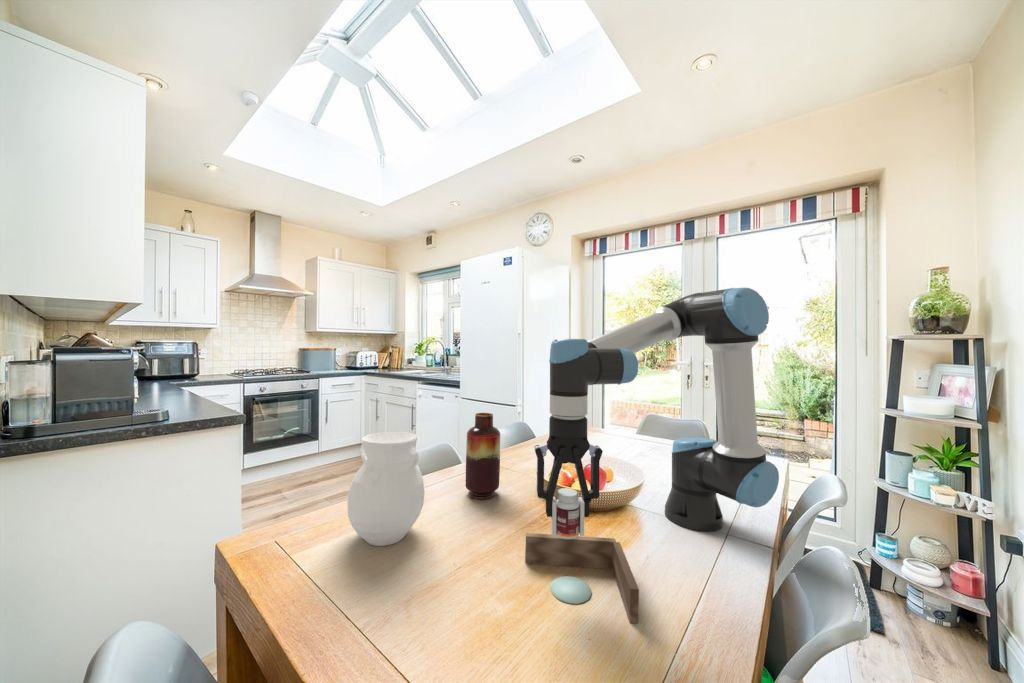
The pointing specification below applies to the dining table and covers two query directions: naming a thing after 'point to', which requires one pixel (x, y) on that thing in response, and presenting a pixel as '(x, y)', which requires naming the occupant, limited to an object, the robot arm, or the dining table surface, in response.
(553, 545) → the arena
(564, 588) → the disc
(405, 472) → the white vase
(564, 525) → the pill bottle
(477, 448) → the vase
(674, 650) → the dining table surface
